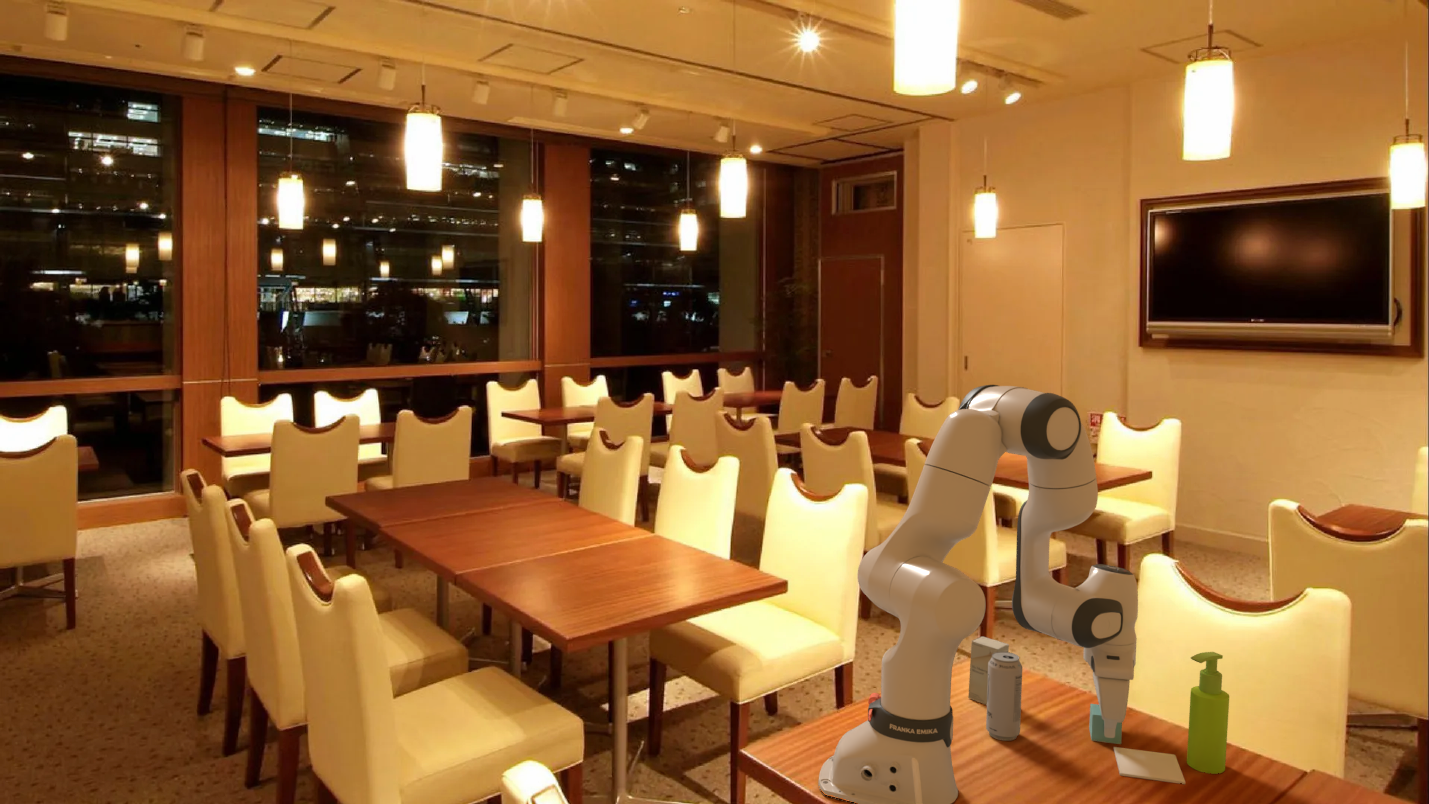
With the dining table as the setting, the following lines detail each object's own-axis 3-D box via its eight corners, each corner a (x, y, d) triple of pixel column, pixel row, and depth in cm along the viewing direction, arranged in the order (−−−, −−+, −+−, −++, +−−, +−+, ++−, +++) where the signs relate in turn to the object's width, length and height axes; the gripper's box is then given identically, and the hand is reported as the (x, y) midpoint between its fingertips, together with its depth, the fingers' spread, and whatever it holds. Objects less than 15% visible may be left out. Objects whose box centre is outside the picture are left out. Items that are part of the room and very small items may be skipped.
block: (1091, 740, 173) (1092, 714, 172) (1089, 729, 177) (1090, 703, 177) (1121, 744, 171) (1122, 718, 171) (1118, 732, 176) (1119, 707, 175)
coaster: (1120, 775, 160) (1120, 773, 160) (1113, 748, 169) (1113, 746, 169) (1185, 784, 157) (1185, 781, 157) (1174, 756, 166) (1175, 754, 166)
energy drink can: (988, 725, 179) (991, 648, 177) (1021, 731, 176) (1024, 653, 175) (983, 738, 173) (986, 659, 172) (1017, 744, 171) (1020, 664, 169)
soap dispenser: (1174, 762, 164) (1180, 650, 162) (1203, 755, 167) (1210, 645, 165) (1203, 777, 159) (1209, 662, 157) (1233, 770, 162) (1239, 657, 160)
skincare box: (967, 698, 191) (969, 640, 190) (979, 692, 194) (981, 635, 193) (995, 708, 186) (997, 648, 185) (1007, 702, 189) (1009, 643, 188)
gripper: (1086, 631, 184) (1083, 700, 185) (1095, 670, 164) (1092, 747, 166) (1121, 634, 182) (1118, 704, 183) (1135, 674, 162) (1131, 751, 164)
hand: (1106, 724), depth 174 cm, fingers open, 8 cm apart
